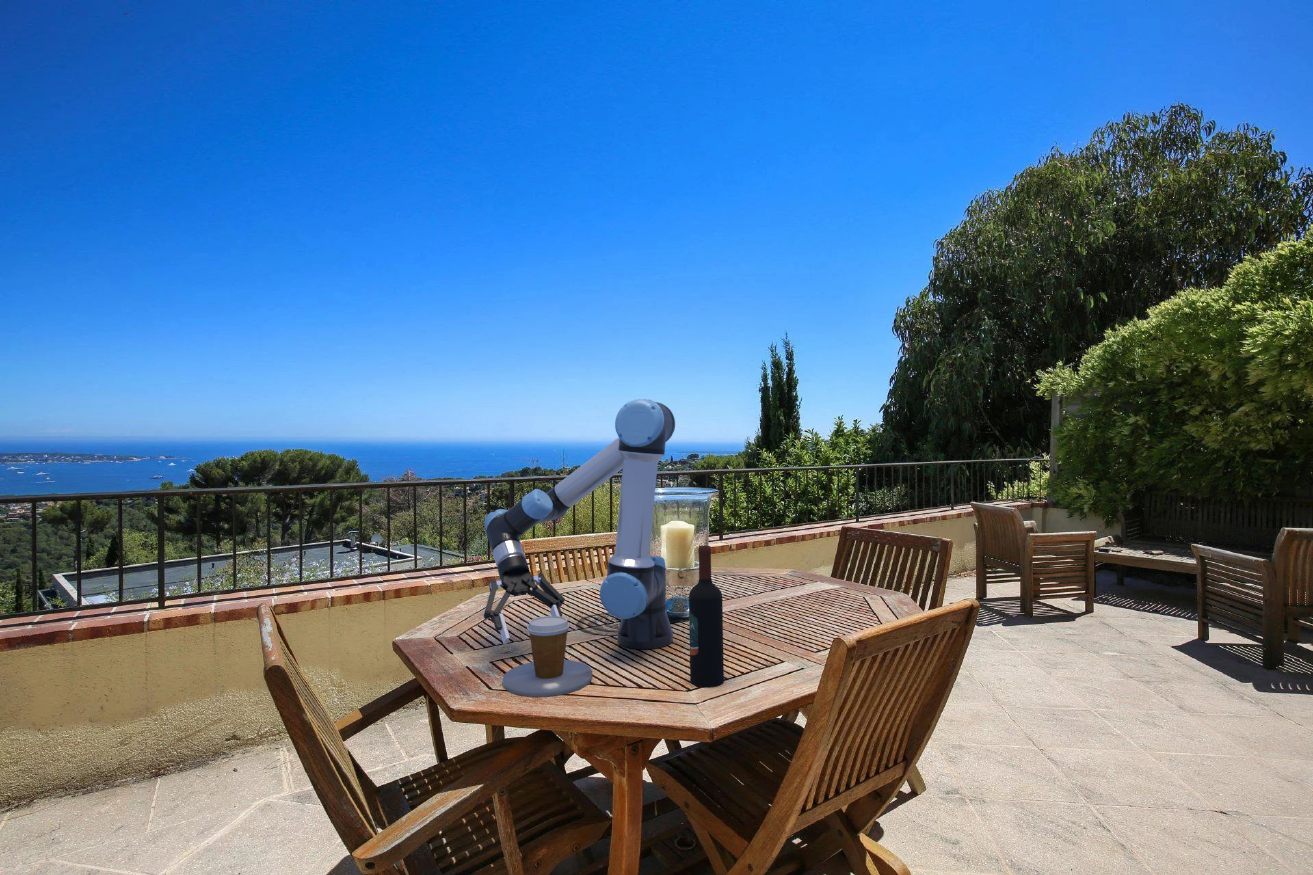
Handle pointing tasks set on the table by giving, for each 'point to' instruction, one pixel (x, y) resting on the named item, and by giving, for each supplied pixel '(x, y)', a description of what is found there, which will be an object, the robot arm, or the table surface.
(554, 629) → the disposable coffee cup
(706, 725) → the table surface
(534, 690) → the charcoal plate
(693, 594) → the wine bottle
